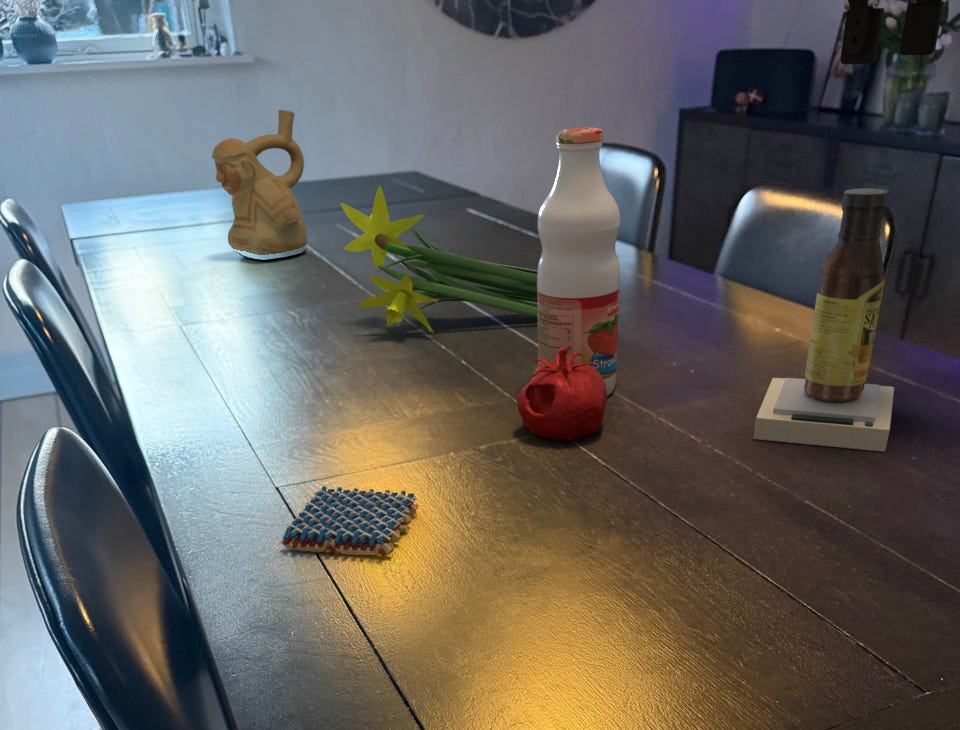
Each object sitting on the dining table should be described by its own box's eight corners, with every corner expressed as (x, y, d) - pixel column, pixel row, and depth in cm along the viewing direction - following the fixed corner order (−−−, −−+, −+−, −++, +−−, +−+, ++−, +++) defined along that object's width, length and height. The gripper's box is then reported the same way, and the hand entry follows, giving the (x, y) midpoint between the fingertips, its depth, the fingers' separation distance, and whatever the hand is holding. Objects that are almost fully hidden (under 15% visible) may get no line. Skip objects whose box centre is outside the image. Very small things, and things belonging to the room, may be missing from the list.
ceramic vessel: (211, 258, 187) (183, 117, 173) (292, 241, 198) (272, 106, 184) (255, 270, 177) (229, 120, 162) (339, 251, 187) (321, 109, 173)
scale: (770, 397, 108) (773, 372, 106) (890, 407, 103) (895, 381, 102) (753, 439, 98) (756, 412, 96) (885, 452, 94) (891, 423, 92)
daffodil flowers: (570, 345, 131) (322, 291, 125) (547, 371, 145) (323, 323, 140) (590, 227, 130) (342, 167, 125) (565, 264, 145) (342, 212, 139)
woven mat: (424, 507, 88) (422, 487, 87) (390, 562, 80) (387, 541, 79) (321, 501, 90) (318, 482, 89) (278, 554, 82) (274, 533, 81)
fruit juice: (545, 376, 118) (542, 126, 102) (619, 378, 116) (628, 123, 100) (532, 402, 110) (527, 136, 94) (611, 405, 108) (619, 133, 92)
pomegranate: (593, 409, 107) (595, 328, 102) (618, 441, 99) (621, 354, 94) (509, 418, 106) (507, 336, 101) (528, 451, 98) (526, 364, 93)
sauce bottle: (863, 406, 96) (903, 197, 85) (800, 402, 98) (831, 196, 87) (863, 385, 101) (901, 185, 90) (803, 382, 103) (833, 185, 92)
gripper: (915, -208, 67) (872, 67, 77) (1027, -196, 76) (976, 50, 86) (824, -189, 72) (795, 67, 82) (939, -180, 81) (900, 51, 91)
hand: (887, 58), depth 84 cm, fingers open, 9 cm apart
